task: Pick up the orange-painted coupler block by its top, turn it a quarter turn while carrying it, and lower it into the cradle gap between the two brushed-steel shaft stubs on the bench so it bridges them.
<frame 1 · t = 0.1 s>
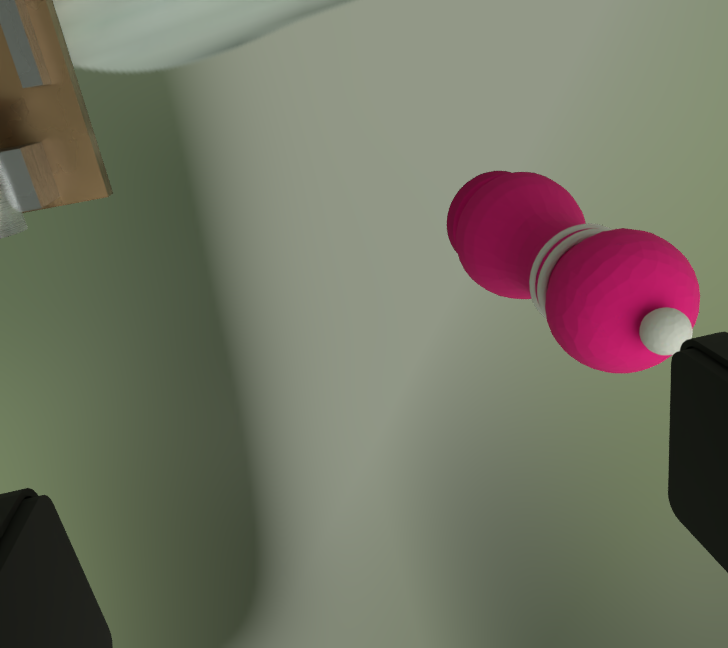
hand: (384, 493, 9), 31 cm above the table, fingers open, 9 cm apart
pepper mill: (491, 218, 41), on the table
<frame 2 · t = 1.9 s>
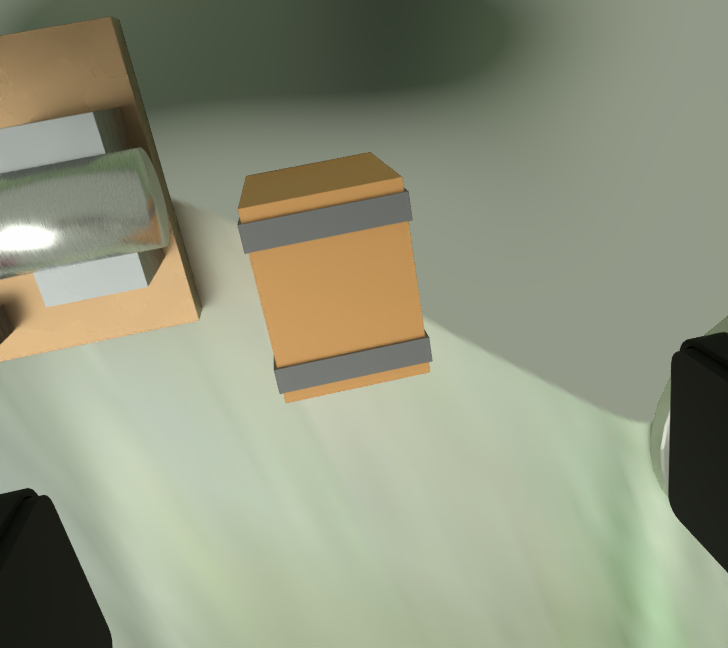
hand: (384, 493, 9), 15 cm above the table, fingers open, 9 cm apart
coupler: (324, 244, 24), on the table
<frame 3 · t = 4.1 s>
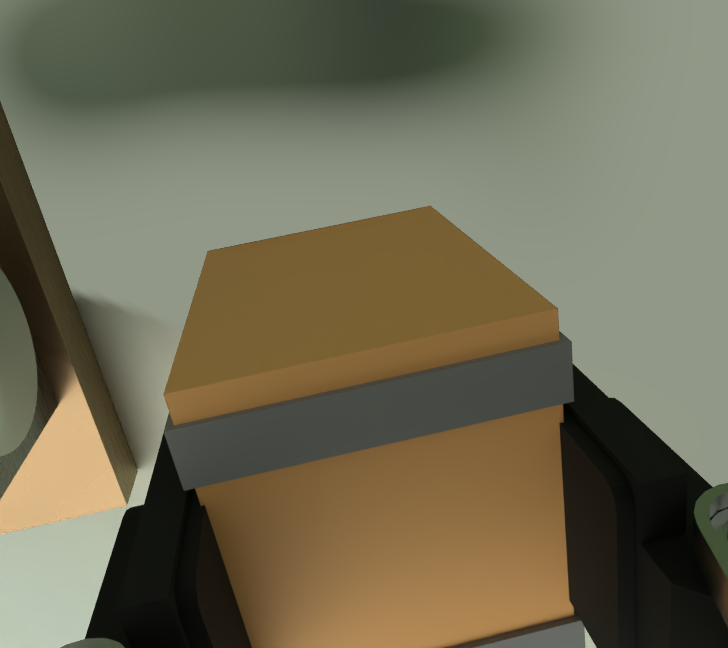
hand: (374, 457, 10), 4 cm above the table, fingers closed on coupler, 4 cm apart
coupler: (347, 361, 14), on the table, touching gripper
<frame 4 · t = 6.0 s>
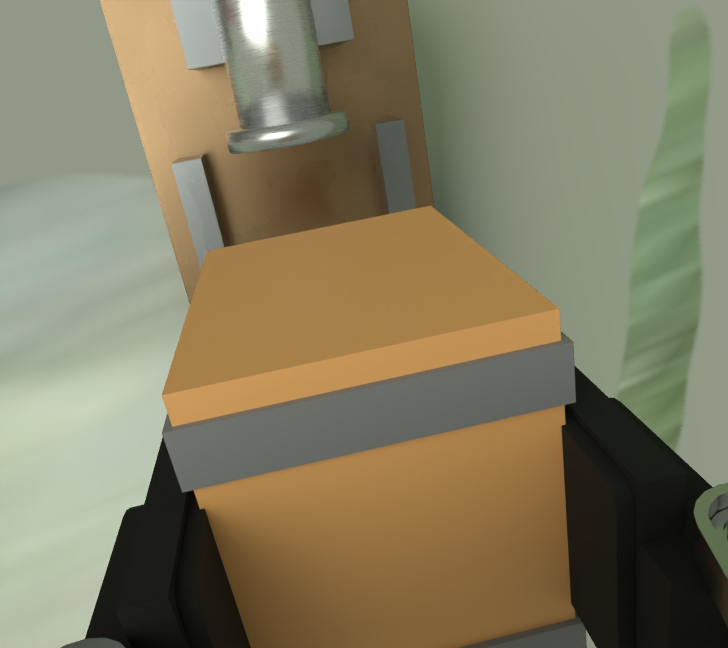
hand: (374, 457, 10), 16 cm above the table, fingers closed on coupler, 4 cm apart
shaft bench: (306, 231, 25), on the table
coupler: (347, 362, 14), point 13 cm above the table, touching gripper
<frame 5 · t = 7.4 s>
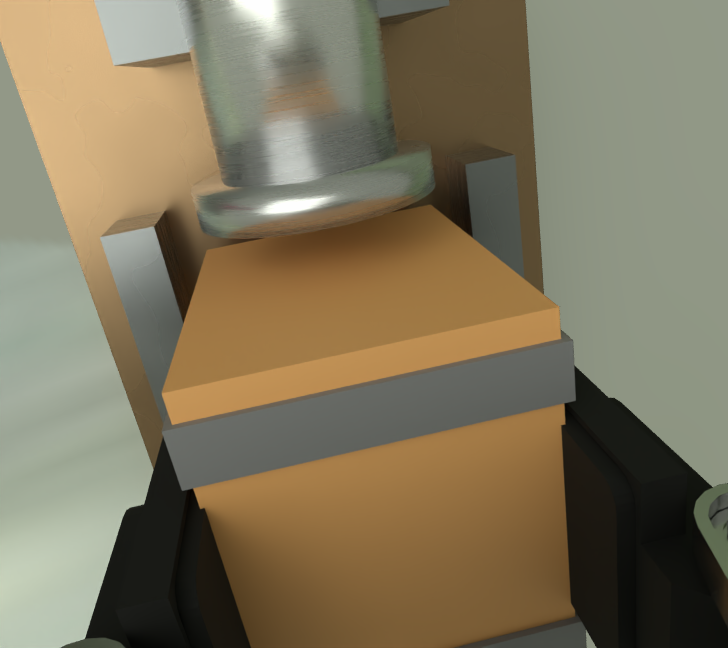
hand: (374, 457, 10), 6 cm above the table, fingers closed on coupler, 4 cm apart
shaft bench: (334, 325, 16), on the table
coupler: (347, 361, 14), point 2 cm above the table, touching gripper
when the fingers open (6 cm above the table, at t = 8.2 s): coupler stays where it is, resting on shaft bench.
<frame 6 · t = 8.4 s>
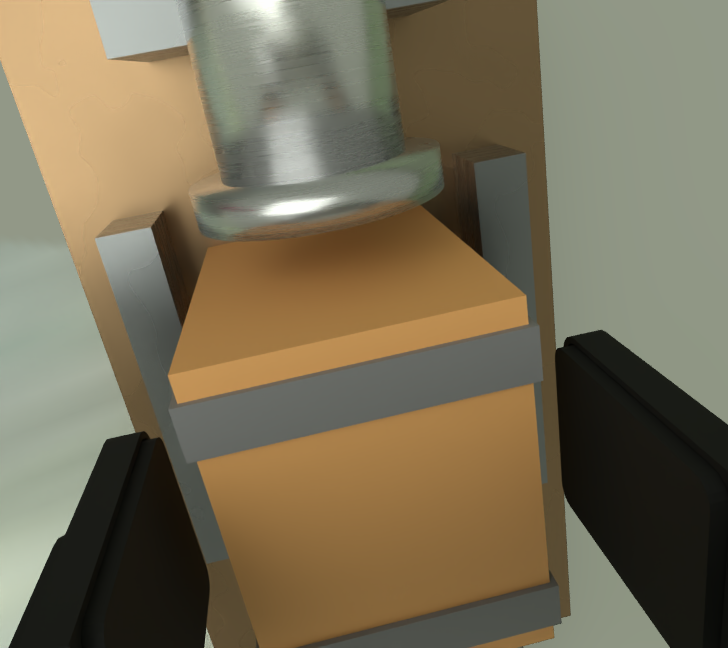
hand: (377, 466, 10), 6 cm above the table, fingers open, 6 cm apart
shaft bench: (337, 328, 16), on the table
coupler: (341, 352, 14), point 1 cm above the table, touching shaft bench
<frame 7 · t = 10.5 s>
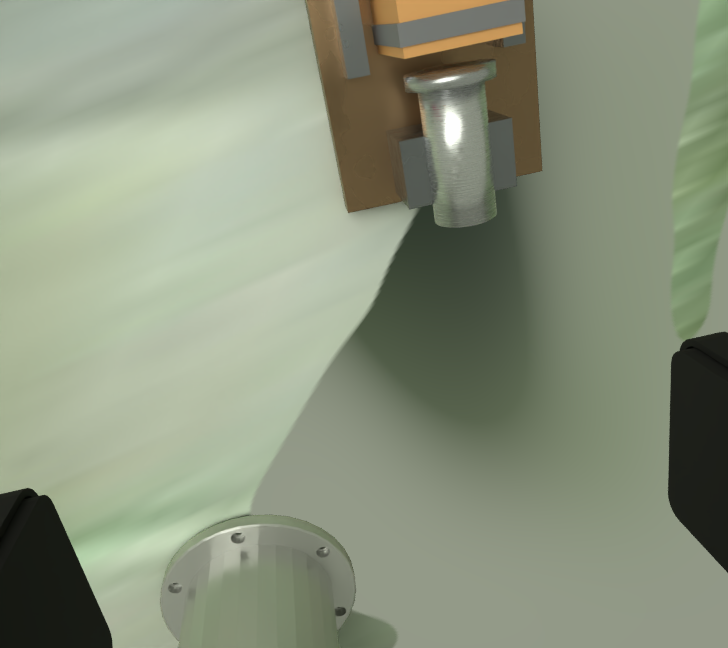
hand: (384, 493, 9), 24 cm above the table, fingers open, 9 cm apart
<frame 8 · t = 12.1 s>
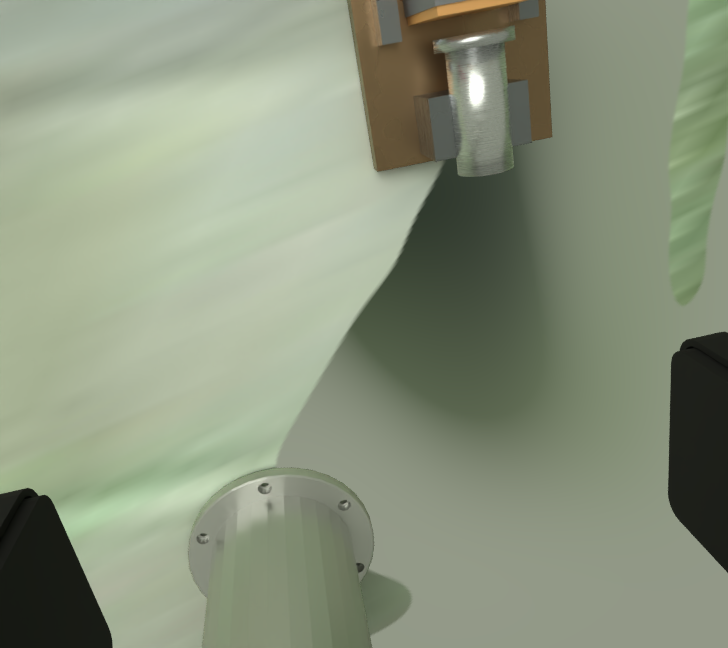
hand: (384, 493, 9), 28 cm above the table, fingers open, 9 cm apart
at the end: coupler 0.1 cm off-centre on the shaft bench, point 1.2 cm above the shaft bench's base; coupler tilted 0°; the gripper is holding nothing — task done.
